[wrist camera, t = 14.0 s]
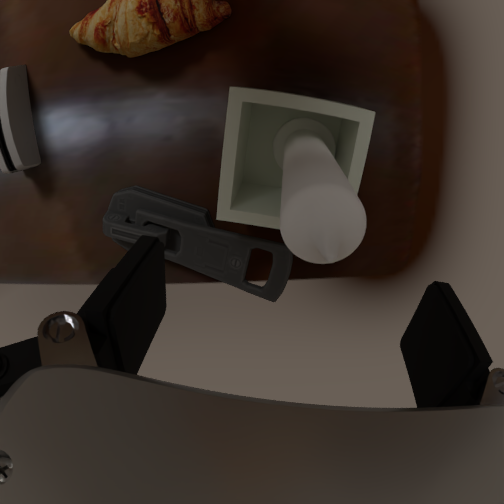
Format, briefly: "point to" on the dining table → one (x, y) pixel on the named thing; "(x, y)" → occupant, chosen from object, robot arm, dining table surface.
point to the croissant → (147, 24)
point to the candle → (316, 194)
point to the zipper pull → (193, 239)
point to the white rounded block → (16, 122)
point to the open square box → (261, 149)
